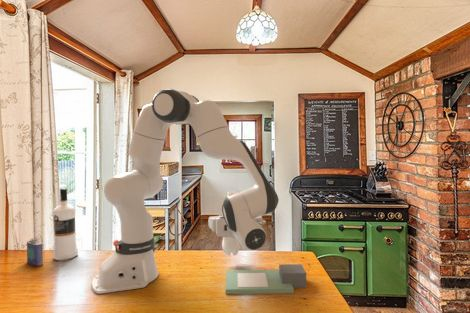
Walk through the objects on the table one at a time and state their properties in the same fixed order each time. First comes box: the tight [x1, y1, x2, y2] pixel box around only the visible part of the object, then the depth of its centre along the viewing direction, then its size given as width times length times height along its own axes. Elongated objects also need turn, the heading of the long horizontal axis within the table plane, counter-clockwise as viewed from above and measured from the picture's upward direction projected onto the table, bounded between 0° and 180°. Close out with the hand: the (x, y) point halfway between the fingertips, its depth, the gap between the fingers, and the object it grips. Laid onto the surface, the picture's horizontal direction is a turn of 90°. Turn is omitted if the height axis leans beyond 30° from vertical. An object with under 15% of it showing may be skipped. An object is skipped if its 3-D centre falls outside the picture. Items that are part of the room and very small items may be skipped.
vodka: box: [52, 188, 79, 261], centre depth 125 cm, size 9×9×30 cm
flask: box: [26, 237, 44, 267], centre depth 119 cm, size 9×3×11 cm, turn 61°
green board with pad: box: [225, 263, 307, 295], centre depth 100 cm, size 27×14×5 cm, turn 90°
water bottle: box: [221, 190, 241, 257], centre depth 115 cm, size 7×7×25 cm
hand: (230, 216), depth 116 cm, fingers closed on water bottle, 7 cm apart
